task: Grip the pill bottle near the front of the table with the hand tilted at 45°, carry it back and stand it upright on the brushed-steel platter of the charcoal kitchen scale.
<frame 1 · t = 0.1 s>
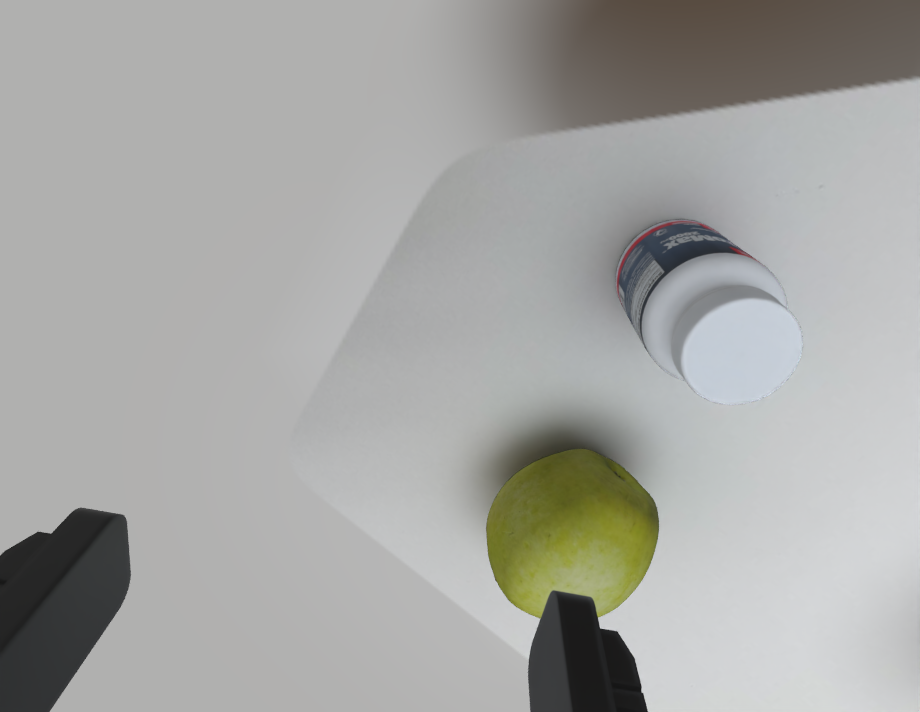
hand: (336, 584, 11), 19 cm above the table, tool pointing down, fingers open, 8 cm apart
pill bottle: (669, 271, 28), on the table
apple: (557, 482, 34), on the table
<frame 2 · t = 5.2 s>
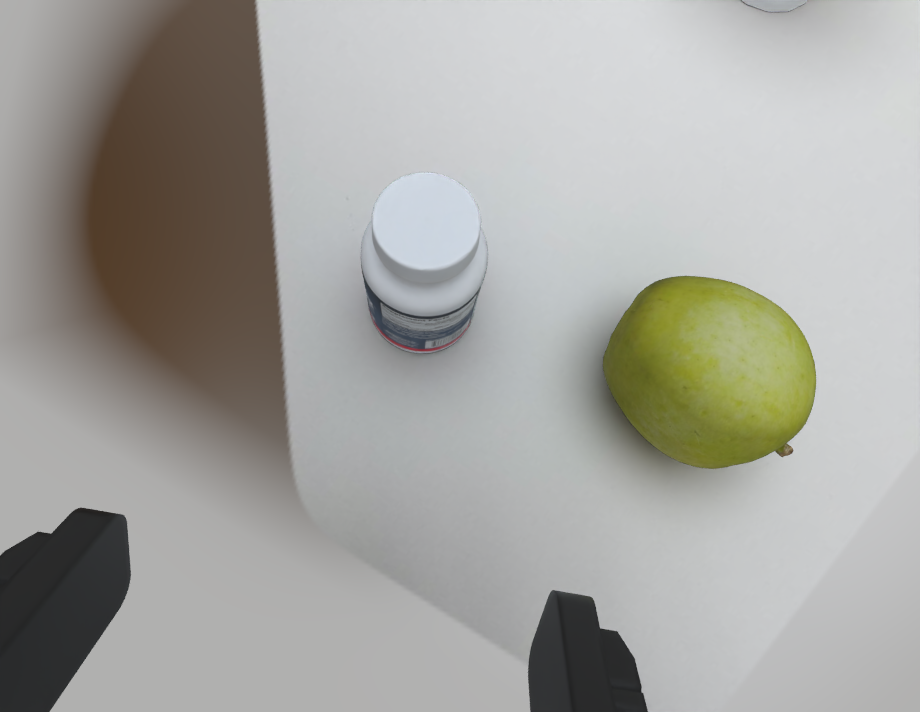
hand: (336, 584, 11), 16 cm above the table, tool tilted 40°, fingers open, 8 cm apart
pill bottle: (421, 306, 30), on the table
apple: (667, 395, 30), on the table
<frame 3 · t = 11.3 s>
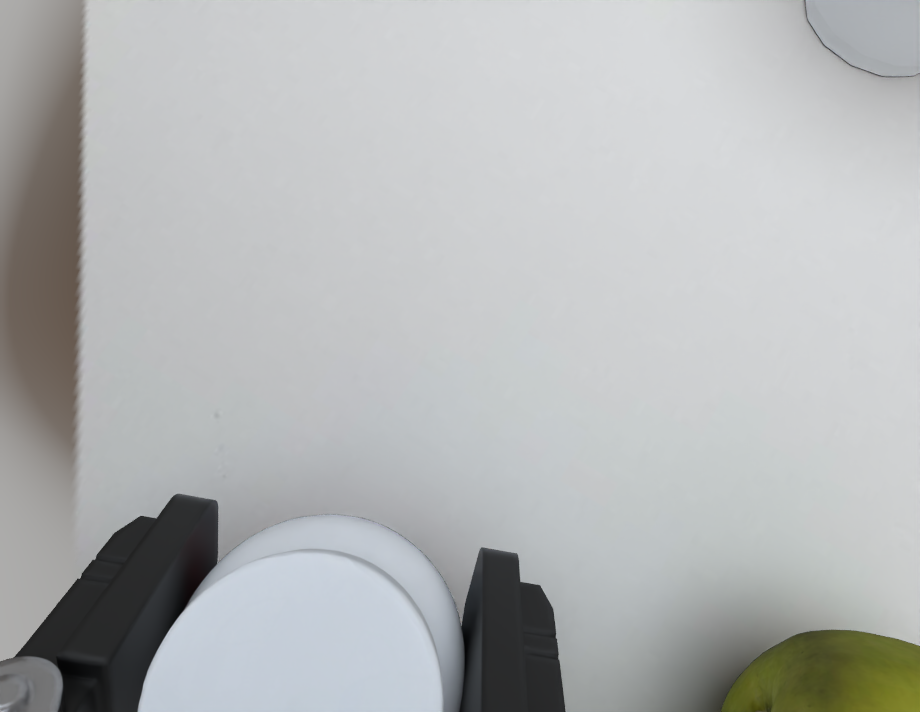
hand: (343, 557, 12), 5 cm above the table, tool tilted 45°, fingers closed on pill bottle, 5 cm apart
foam cup: (870, 22, 26), on the table
pill bottle: (346, 626, 16), on the table, touching gripper
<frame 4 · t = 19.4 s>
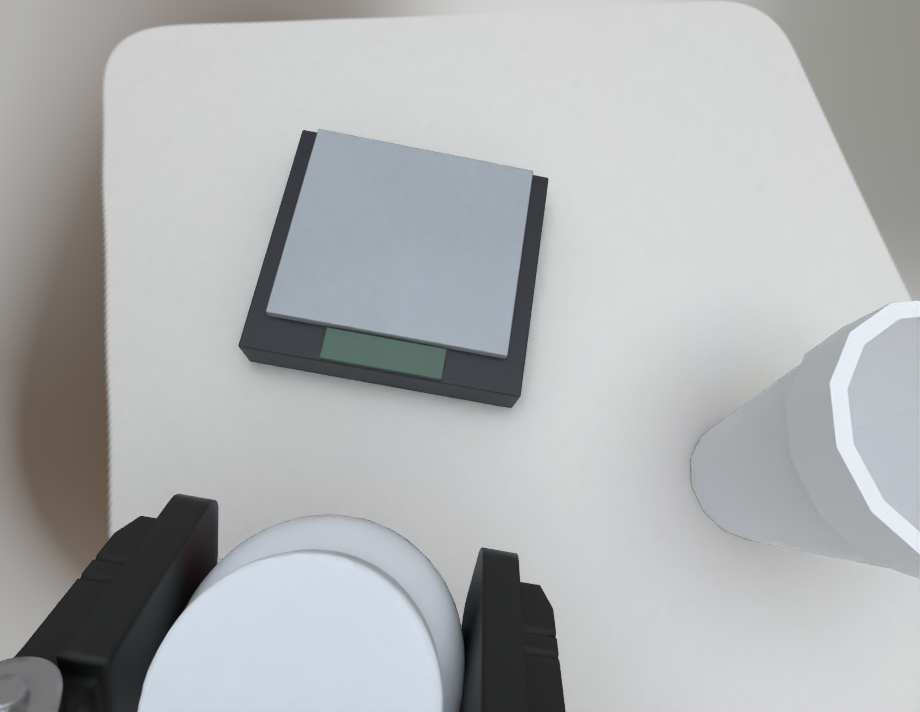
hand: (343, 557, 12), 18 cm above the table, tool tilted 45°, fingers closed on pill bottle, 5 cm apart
foam cup: (745, 478, 32), on the table
pill bottle: (346, 627, 16), point 12 cm above the table, touching gripper
scale: (404, 275, 34), on the table
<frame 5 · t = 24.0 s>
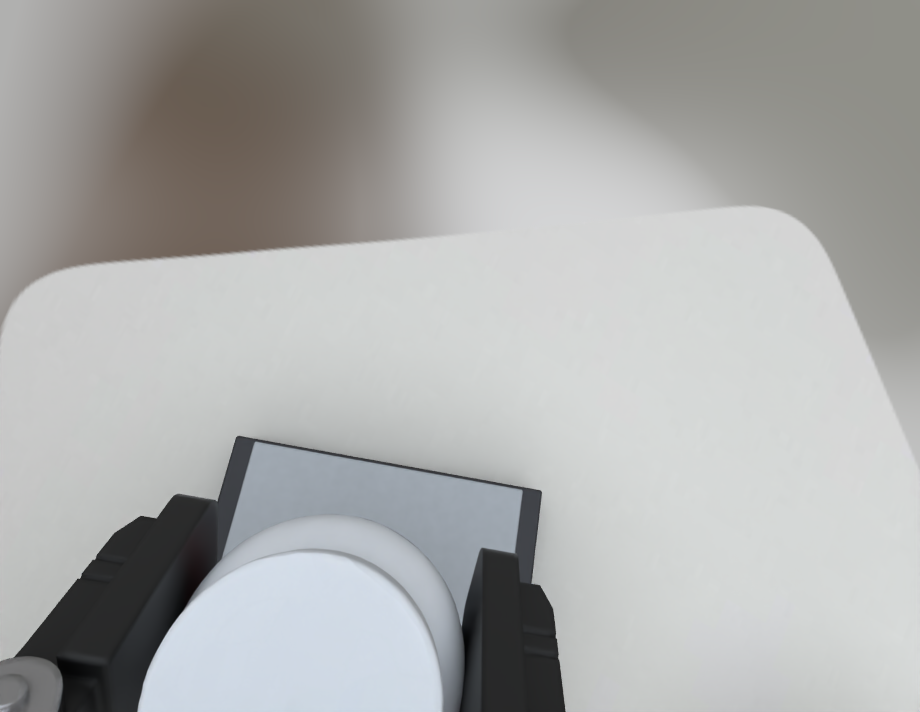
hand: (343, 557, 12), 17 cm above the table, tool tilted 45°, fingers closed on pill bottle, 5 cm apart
pill bottle: (346, 626, 16), point 12 cm above the table, touching gripper
scale: (362, 612, 27), on the table
when the fingers open (8 cm above the table, at t = 27.8 s): pill bottle stays where it is, resting on scale.
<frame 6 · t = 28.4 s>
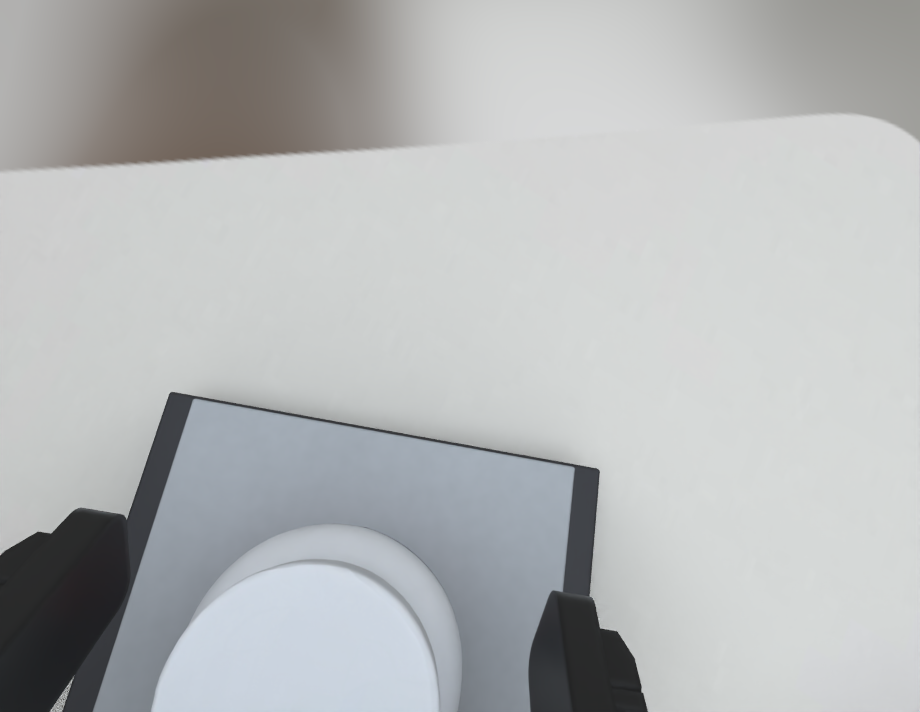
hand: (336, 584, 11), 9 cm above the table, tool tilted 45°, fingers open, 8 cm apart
pill bottle: (348, 629, 17), point 3 cm above the table, touching scale
scale: (349, 641, 19), on the table
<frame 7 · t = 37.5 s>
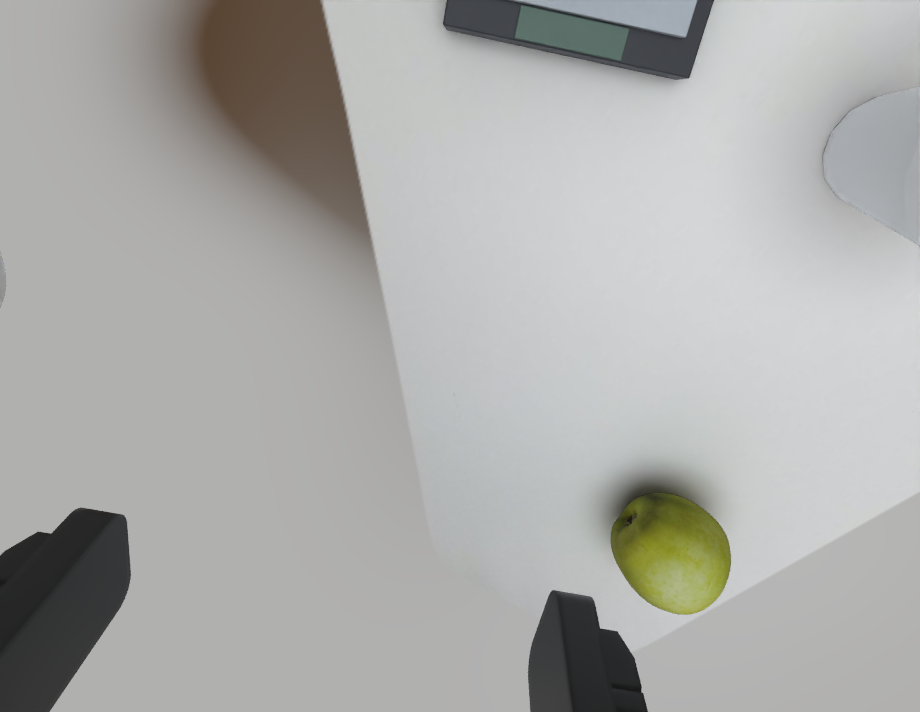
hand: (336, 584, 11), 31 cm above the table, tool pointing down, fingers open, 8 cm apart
foam cup: (875, 151, 36), on the table
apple: (657, 515, 48), on the table
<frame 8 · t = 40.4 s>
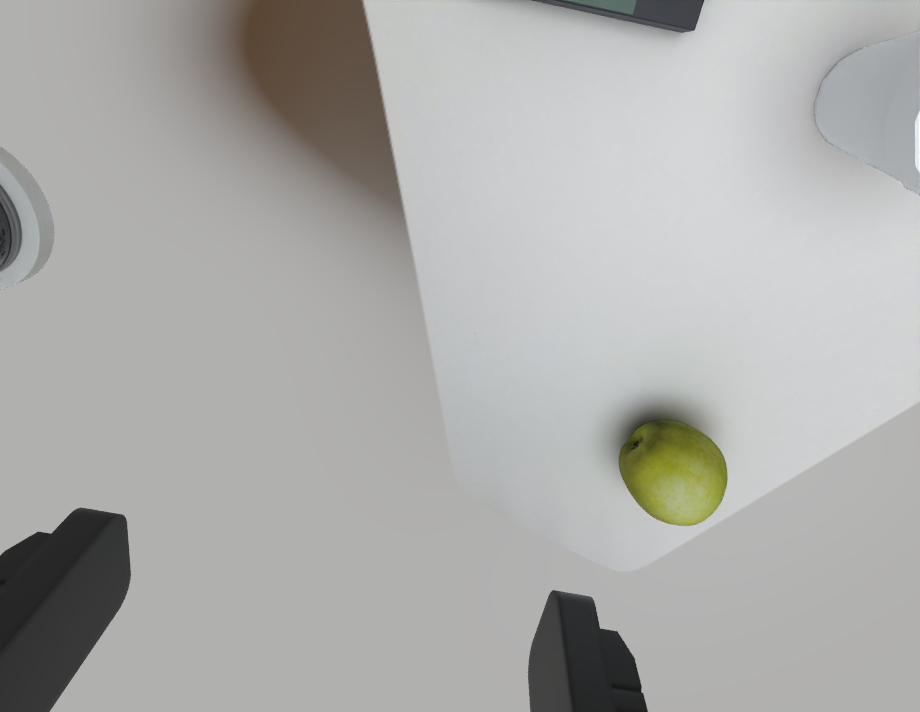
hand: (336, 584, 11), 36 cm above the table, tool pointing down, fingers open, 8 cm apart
foam cup: (862, 98, 40), on the table
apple: (660, 442, 52), on the table
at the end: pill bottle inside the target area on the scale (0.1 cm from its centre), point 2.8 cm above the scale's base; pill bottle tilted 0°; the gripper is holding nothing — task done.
